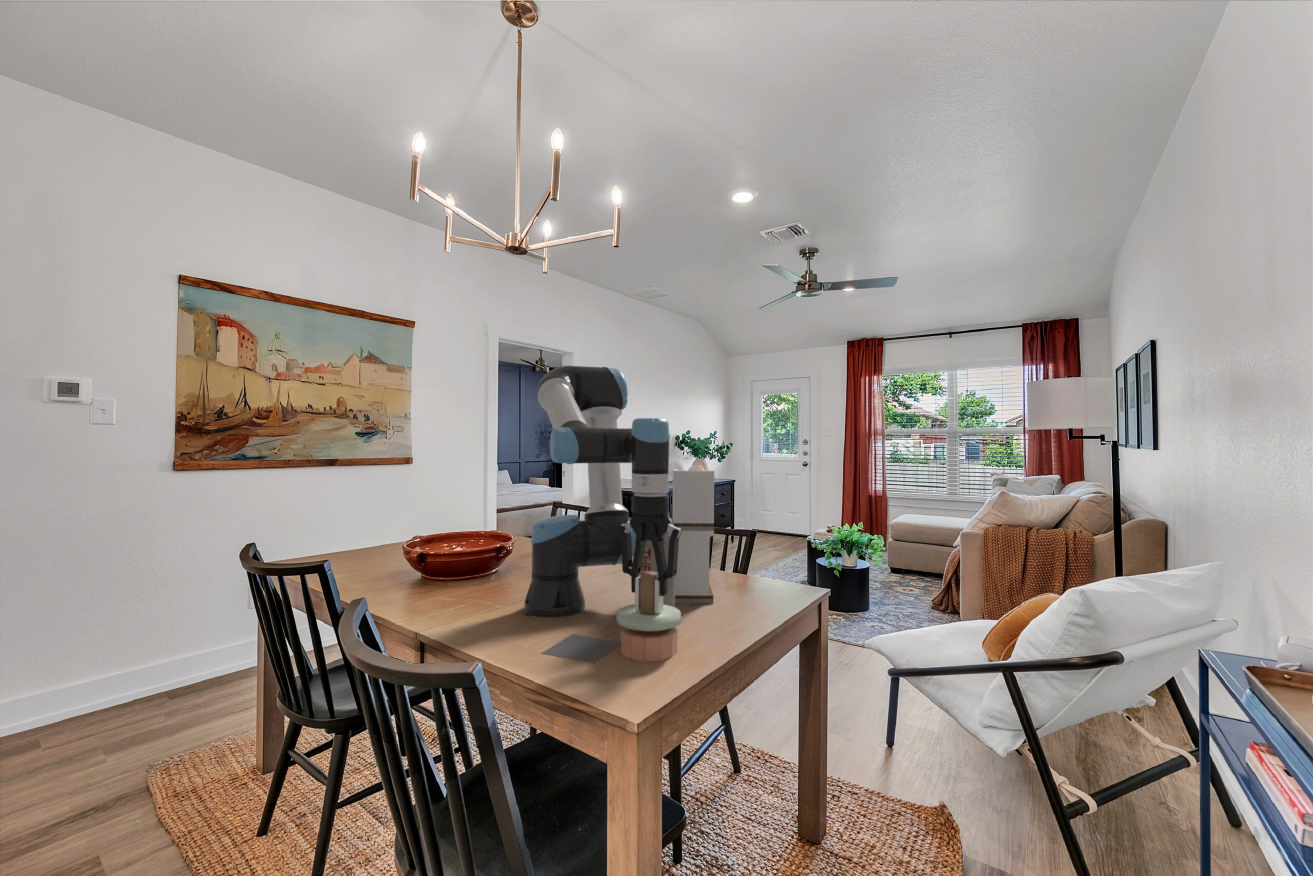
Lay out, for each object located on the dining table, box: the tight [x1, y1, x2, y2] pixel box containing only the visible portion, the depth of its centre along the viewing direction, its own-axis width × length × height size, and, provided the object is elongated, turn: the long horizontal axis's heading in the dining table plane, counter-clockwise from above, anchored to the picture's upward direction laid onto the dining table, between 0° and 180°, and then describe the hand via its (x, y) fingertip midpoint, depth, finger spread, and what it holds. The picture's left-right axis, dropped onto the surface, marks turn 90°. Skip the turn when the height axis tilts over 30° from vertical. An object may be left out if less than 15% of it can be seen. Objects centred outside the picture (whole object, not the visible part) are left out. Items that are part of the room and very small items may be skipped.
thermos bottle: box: [641, 504, 676, 608], centre depth 133 cm, size 8×8×28 cm
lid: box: [616, 571, 682, 631], centre depth 115 cm, size 13×13×10 cm
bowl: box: [620, 626, 678, 663], centre depth 115 cm, size 11×11×5 cm
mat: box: [541, 633, 621, 664], centre depth 116 cm, size 12×12×1 cm
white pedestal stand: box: [672, 468, 715, 604], centre depth 156 cm, size 11×11×35 cm
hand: (649, 609), depth 115 cm, fingers closed on lid, 4 cm apart
